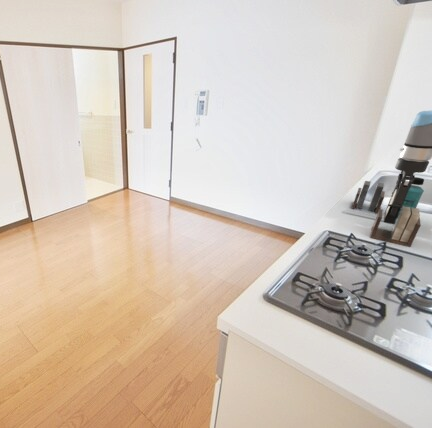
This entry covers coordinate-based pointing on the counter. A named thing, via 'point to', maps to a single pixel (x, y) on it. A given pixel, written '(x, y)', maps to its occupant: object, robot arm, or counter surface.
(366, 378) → the counter surface
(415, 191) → the beverage bottle
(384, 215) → the cream book
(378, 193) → the grey rack
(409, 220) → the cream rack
